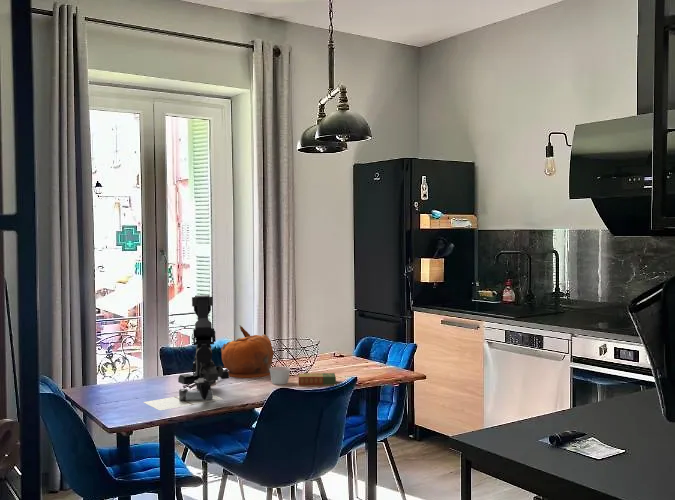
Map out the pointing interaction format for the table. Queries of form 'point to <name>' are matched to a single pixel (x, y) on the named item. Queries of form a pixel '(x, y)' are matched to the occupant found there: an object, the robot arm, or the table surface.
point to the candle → (279, 375)
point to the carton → (317, 379)
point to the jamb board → (176, 402)
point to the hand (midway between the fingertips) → (204, 399)
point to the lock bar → (193, 395)
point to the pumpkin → (248, 356)
